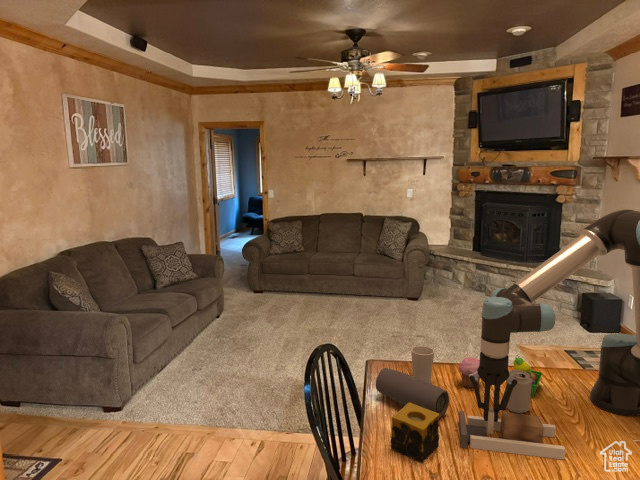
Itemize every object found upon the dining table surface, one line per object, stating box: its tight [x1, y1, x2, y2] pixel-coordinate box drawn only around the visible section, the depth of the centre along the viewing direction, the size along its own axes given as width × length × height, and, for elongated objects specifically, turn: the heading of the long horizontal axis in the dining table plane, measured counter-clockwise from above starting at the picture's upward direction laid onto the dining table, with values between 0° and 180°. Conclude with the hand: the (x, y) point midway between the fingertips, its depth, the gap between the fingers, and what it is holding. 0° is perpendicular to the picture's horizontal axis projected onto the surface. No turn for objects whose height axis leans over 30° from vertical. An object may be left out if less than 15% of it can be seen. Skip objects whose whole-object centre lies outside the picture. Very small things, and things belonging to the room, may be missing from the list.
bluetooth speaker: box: [375, 367, 450, 418], centre depth 154 cm, size 23×9×10 cm, turn 44°
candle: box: [390, 403, 440, 463], centre depth 133 cm, size 10×10×10 cm
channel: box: [466, 415, 566, 460], centre depth 136 cm, size 24×12×3 cm, turn 77°
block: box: [499, 411, 544, 444], centre depth 135 cm, size 10×6×7 cm, turn 77°
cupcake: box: [458, 356, 481, 389], centre depth 168 cm, size 9×9×10 cm
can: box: [505, 369, 532, 414], centre depth 152 cm, size 8×8×12 cm
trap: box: [458, 410, 488, 449], centre depth 138 cm, size 8×13×4 cm, turn 167°
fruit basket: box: [513, 356, 543, 398], centre depth 165 cm, size 11×9×11 cm
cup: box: [410, 345, 435, 384], centre depth 170 cm, size 8×8×12 cm
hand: (489, 430), depth 137 cm, fingers closed
